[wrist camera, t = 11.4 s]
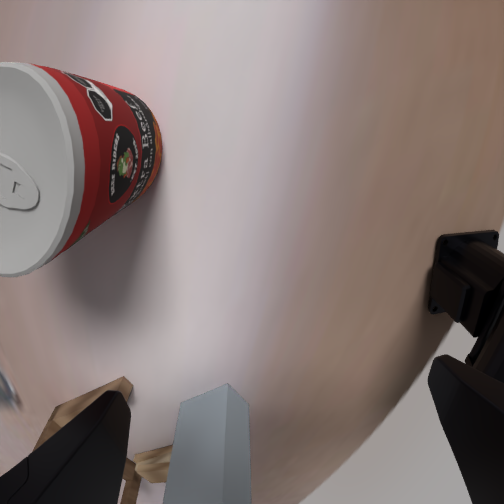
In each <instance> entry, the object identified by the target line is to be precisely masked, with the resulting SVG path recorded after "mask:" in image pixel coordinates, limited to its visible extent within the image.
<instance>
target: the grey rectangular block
mask: <svg viewBox="0 0 504 504" xmlns="http://www.w3.org/2000/svg"><path fill="white" fill-rule="evenodd" d="M163 504H251V467H250V426H249V404H248V403H247V402H246V401H245V400H244V399H243V398H242V397H241V396H240V395H239V394H238V393H237V392H236V391H235V390H234V389H233V388H232V387H231V386H230V385H229V384H228V383H227V384H225V385H223V386H221V387H218V388H216V389H214V390H211V391H209V392H206V393H204V394H202V395H199V396H197V397H194V398H192V399H189V400H187V401H184V402H181V406H180V411H179V416H178V421H177V426H176V432H175V437H174V442H173V448H172V453H171V459H170V464H169V470H168V476H167V481H166V487H165V493H164V499H163Z"/></svg>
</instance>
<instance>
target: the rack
mask: <svg viewBox="0 0 504 504" xmlns="http://www.w3.org/2000/svg"><path fill="white" fill-rule="evenodd" d="M132 387H133V385H132V384H131V383H130V382H129V381H128V380H127V379H126V378H125V377H124V376H123V377H121V378H119V379H117V380H114V381H112V382H110V383H108V384H106V385H104V386H102V387H99V388H97V389H95V390H93V391H91V392H88V393H86V394H84V395H82V396H79V397H77V398H75V399H73V400H70V401H68V402H66V403H64V404H61V405H59V406H57V407H55V409H54V411H53V413H52V415H51V417H50V418H49V420H48V422H47V424H46V426H45V428H44V430H43V432H42V434H41V436H40V438H39V440H38V442H37V444H36V446H35V448H34V450H36V449H37V448H38V447H39V446H40V445H42V444H43V443H44V442H45V441H46V440H48V439H49V438H50V437H51V436H52V435H54V434H55V433H56V432H57V431H58V430H60V429H61V428H62V427H63V426H64V425H66V424H67V423H68V422H69V421H70V420H72V419H73V418H74V417H75V416H76V415H78V414H79V413H80V412H81V411H82V410H84V409H85V408H86V407H87V406H88V405H90V404H91V403H92V402H93V401H94V400H96V399H97V398H98V397H99V396H100V395H102V394H103V393H104V392H105V391H107V390H118V391H120V392H122V394H123V396H124V398H125V400H126V402H127V400H128V397H129V395H130V392H131V389H132ZM34 450H33V451H34ZM135 467H136V464H135V463H133V462H132V461H130V460H129V459H128V458H126V463H125V468H124V473H123V477H122V479H124V480H126V483H125V487H124V491H123V495H122V499H121V503H120V504H136V500H137V496H138V491H139V487H140V482H141V478H142V476H141V475H139V474H138V473H137V471H135Z"/></svg>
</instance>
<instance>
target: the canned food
mask: <svg viewBox="0 0 504 504" xmlns="http://www.w3.org/2000/svg"><path fill="white" fill-rule="evenodd" d="M161 154H162V140H161V133H160V130H159V126H158V123H157V121H156V119H155V117H154V115H153V113H152V112H151V110H150V109H149V108H148V107H147V105H146V104H145V103H144V102H143V101H142V100H140V99H139V98H138V97H137V96H135V95H133V94H131V93H129V92H127V91H125V90H122V89H119V88H116V87H113V86H110V85H107V84H104V83H101V82H98V81H95V80H91V79H88V78H85V77H81V76H78V75H75V74H71V73H67V72H64V71H60V70H57V69H53V68H49V67H44V66H38V65H34V64H30V63H21V62H1V63H0V276H1V277H19V276H22V275H26V274H29V273H31V272H32V271H34V270H36V269H39V268H40V267H42V266H43V265H45V264H47V263H48V262H50V261H51V260H53V259H54V258H55V257H57V256H58V255H59V254H61V253H62V252H64V251H65V250H67V249H68V248H69V247H71V246H72V245H73V244H75V243H76V242H77V241H79V240H80V239H81V238H83V237H84V236H85V235H87V234H88V233H89V232H91V231H92V230H94V229H95V228H96V227H98V226H99V225H101V224H102V223H103V222H105V221H106V220H108V219H109V218H110V217H112V216H113V215H115V214H116V213H118V212H119V211H121V210H122V209H124V208H125V207H126V206H128V205H129V204H131V203H132V202H134V201H135V200H136V199H138V198H139V197H140V196H141V195H142V194H144V192H145V191H146V190H147V189H148V187H149V186H150V185H151V184H152V182H153V180H154V178H155V176H156V174H157V172H158V168H159V165H160V162H161Z"/></svg>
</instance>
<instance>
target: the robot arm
mask: <svg viewBox="0 0 504 504" xmlns="http://www.w3.org/2000/svg"><path fill="white" fill-rule="evenodd" d="M493 236H494V237H493ZM498 239H499V234H498V232H497V231H495V230H486V231H475V232H465V233H454V234H444V235H441V236H440V237H439V239H438V242H437V251H436V259H435V265H434V270H433V277H432V283H431V290H430V298H429V304H428V311H429V312H430V313H431V314H438V313H443V312H447V313H448V314H449V315H450V316H451V317H452V318H453V320H454V321H455V322H457V323H459V322H460V323H461V324H462V325H463V326H464V327H465V328H466V330H467V331H468V332H469V333H470V334H471V335H472V336H473V337H478V339H477V341H476V343H475V345H474V347H473V348H472V350H471V352H470V354H468V355H467V357H466V359H465V363H466V364H465V363H463V362H461V361H459V360H457V359H455V358H453V357H451V356H449V355H442V356H438V357H436V358H435V359H434V360H433V363H432V366H431V369H430V373H429V376H428V385H429V388H430V391H431V394H432V397H433V400H434V403H435V406H436V410H437V413H438V416H439V419H440V422H441V425H442V427H443V430H444V432H445V434H446V437H447V439H448V441H449V444H450V446H451V449H452V451H453V453H454V456H455V458H456V461H457V463H458V466H459V468H460V471H461V474H462V476H463V479H464V482H465V484H466V487H467V490H468V493H469V495H470V498H471V501H472V504H504V254H503V253H502V252H500V251H499V250H497V246H498ZM444 240H445V243H444V244H443V241H444ZM434 307H435V308H434ZM433 308H434V309H433ZM130 420H131V411H130V408H129V406H128V404H127V402H126V400H125V398H124V396H123V394H122V392H120V391H118V390H107V391H105V392H104V393H103V394H102V395H100V396H99V397H98V398H97V399H96V400H94V401H93V402H92V403H91V404H90V405H88V406H87V407H86V408H85V409H84V410H82V411H81V412H80V413H79V414H78V415H76V416H75V417H74V418H73V419H72V420H70V421H69V422H68V423H67V424H66V425H64V426H63V427H62V428H61V429H60V430H58V431H57V432H56V433H55V434H54V435H52V436H51V437H50V438H49V439H48V440H46V441H45V442H44V443H43V444H42V445H40V446H39V447H38V448H37V449H36V450H34V451H33V452H32V453H31V454H29V455H28V457H26V458H24V459H23V460H22V461H21V462H20V463H18V464H17V465H16V466H14V467H13V468H12V469H11V470H9V471H8V472H7V473H5V474H4V475H2V476H1V477H0V504H117V502H118V497H119V492H120V487H121V482H122V477H123V473H124V468H125V463H126V457H127V448H128V438H129V429H130Z"/></svg>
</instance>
